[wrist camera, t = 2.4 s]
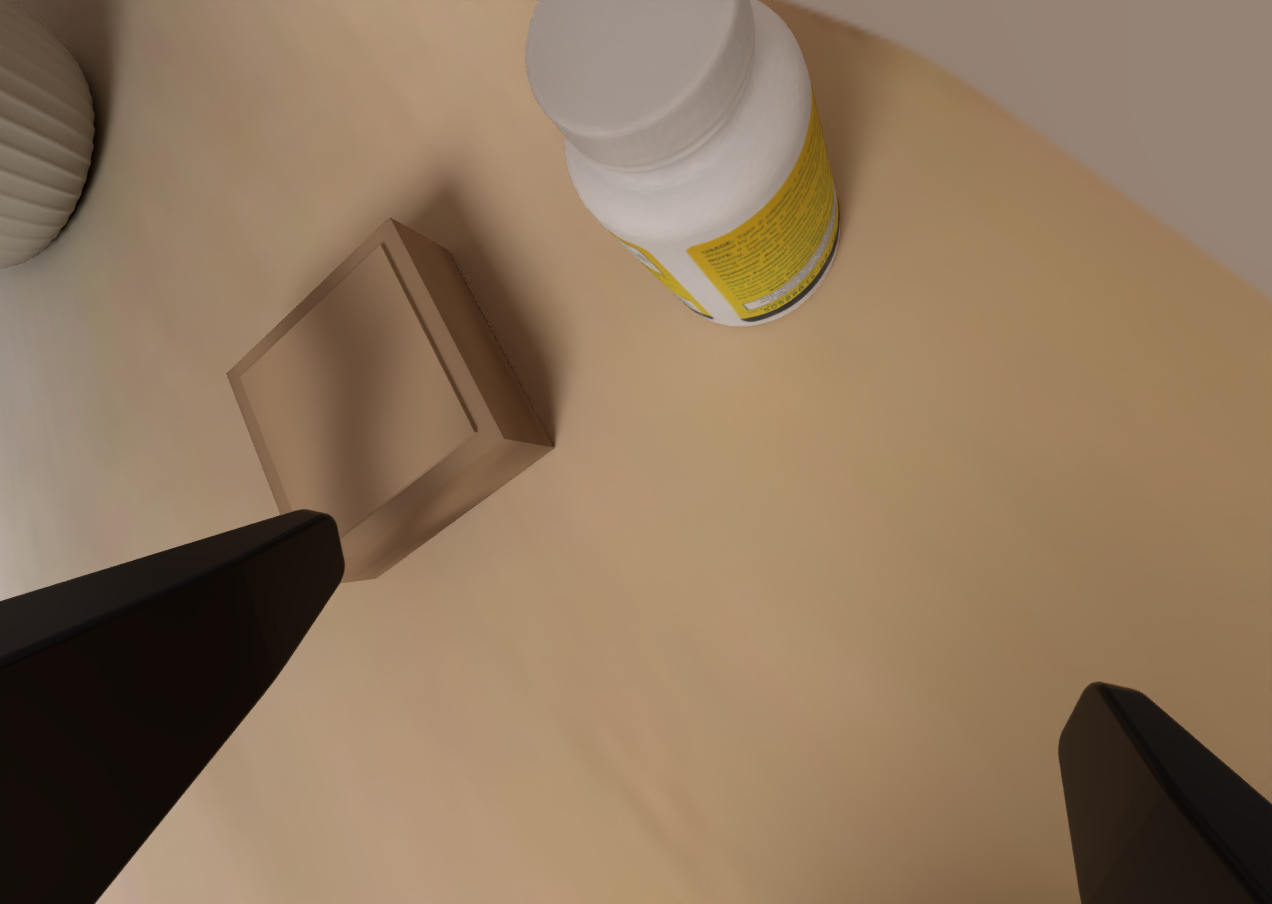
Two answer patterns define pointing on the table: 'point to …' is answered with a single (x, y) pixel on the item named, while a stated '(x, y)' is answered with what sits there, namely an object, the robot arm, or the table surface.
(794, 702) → the table surface
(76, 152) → the canister
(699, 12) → the supplement bottle
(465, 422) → the square wooden block
